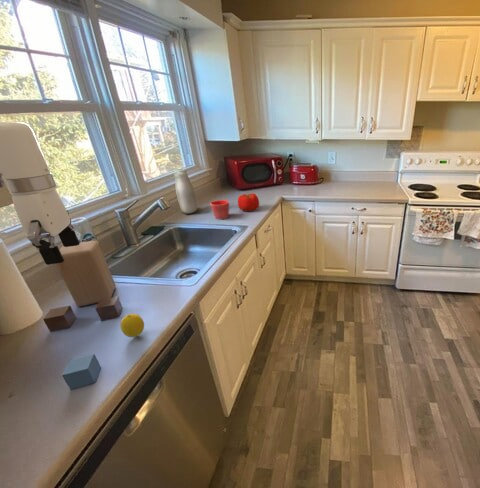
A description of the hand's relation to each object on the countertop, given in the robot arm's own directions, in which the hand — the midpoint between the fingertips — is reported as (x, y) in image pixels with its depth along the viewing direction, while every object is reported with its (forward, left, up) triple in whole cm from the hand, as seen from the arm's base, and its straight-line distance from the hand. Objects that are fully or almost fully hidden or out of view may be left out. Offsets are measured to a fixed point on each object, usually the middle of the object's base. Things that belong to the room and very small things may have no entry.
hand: (64, 253), depth 68 cm
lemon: (+8, 0, -30) cm, 31 cm away
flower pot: (+38, +98, -30) cm, 109 cm away
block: (-9, +28, -30) cm, 42 cm away
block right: (-2, +15, -29) cm, 33 cm away
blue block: (-1, -12, -29) cm, 32 cm away
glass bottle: (+19, +115, -30) cm, 120 cm away
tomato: (+56, +106, -30) cm, 124 cm away
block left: (-15, +15, -29) cm, 36 cm away
